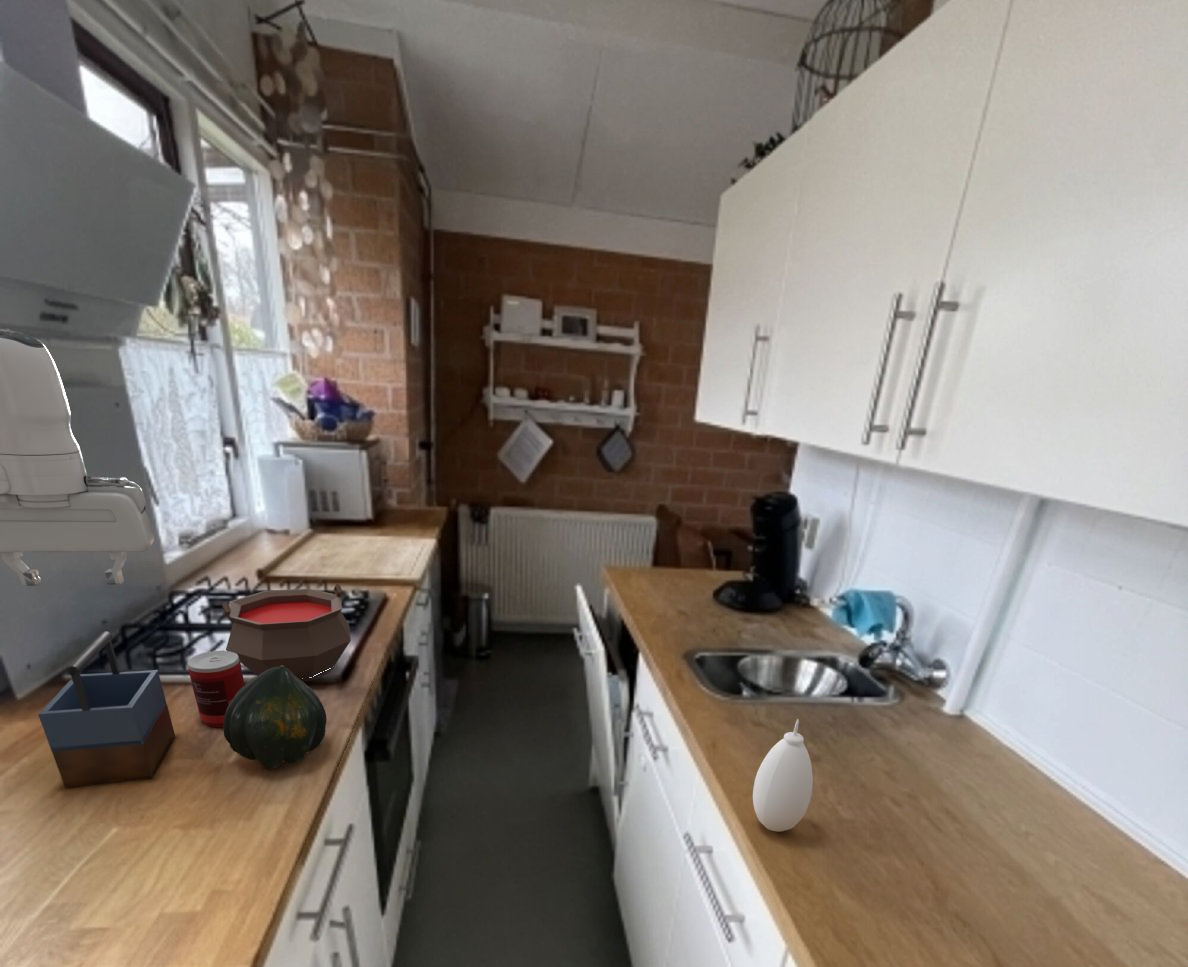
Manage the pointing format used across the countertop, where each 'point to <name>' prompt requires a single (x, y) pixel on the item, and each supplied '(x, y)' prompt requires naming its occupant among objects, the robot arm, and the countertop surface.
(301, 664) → the brown soup pot
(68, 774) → the bottom basket
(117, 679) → the top basket
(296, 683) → the squash
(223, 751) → the countertop surface
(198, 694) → the canned food
